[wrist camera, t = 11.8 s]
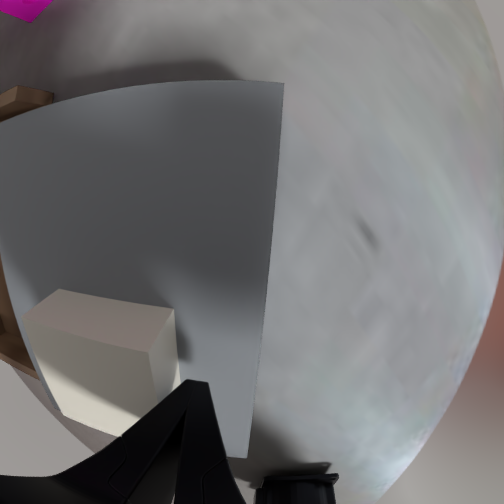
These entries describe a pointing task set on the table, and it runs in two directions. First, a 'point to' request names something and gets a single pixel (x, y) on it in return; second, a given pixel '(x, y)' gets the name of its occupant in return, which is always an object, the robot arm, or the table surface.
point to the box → (3, 318)
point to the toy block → (24, 8)
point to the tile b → (104, 357)
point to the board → (153, 218)
